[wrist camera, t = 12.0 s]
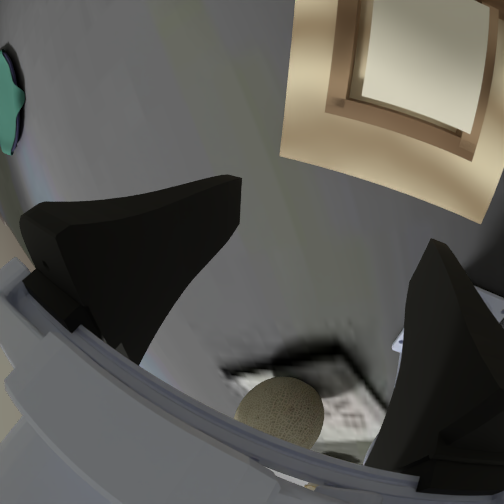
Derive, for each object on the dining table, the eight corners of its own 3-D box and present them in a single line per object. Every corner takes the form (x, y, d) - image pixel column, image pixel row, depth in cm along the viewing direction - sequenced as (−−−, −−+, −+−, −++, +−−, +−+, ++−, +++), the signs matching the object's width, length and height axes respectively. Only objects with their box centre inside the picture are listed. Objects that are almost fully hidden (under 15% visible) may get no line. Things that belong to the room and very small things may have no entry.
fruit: (351, 380, 30) (305, 500, 19) (317, 411, 37) (276, 500, 27) (270, 345, 32) (203, 457, 21) (253, 383, 40) (202, 467, 29)
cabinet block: (439, 110, 12) (470, 134, 7) (372, 88, 13) (361, 96, 8) (453, 20, 8) (489, -11, 3) (384, -2, 10) (376, -48, 5)
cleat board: (477, 217, 15) (494, 260, 11) (284, 152, 19) (253, 176, 15) (523, 0, 5) (556, -15, 1) (305, -63, 9) (275, -95, 5)
